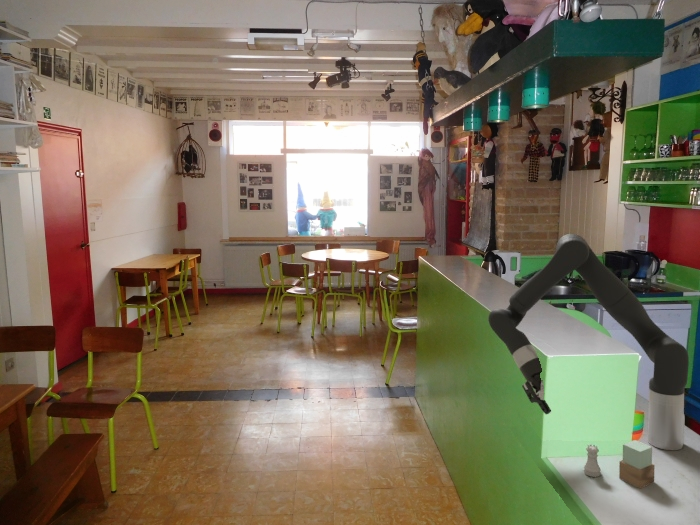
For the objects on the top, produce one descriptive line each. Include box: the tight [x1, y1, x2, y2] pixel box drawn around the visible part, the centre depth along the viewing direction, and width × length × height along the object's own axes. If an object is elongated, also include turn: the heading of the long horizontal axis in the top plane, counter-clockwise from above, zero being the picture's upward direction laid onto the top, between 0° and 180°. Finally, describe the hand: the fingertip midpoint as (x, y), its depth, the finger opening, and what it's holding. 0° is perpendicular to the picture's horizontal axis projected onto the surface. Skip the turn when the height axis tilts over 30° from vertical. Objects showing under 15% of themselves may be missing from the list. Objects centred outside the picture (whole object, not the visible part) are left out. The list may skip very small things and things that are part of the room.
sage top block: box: [622, 439, 653, 470], centre depth 141 cm, size 5×5×5 cm
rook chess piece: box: [583, 444, 602, 478], centre depth 146 cm, size 4×4×8 cm
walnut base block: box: [618, 459, 656, 489], centre depth 142 cm, size 6×6×5 cm
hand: (559, 409), depth 155 cm, fingers open, 8 cm apart
